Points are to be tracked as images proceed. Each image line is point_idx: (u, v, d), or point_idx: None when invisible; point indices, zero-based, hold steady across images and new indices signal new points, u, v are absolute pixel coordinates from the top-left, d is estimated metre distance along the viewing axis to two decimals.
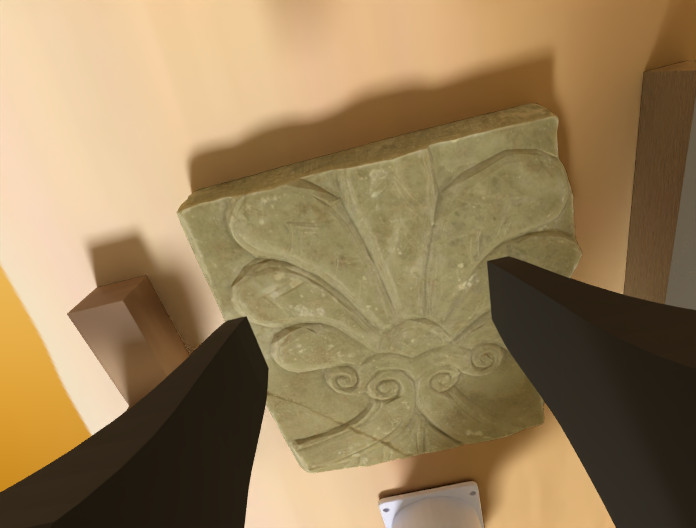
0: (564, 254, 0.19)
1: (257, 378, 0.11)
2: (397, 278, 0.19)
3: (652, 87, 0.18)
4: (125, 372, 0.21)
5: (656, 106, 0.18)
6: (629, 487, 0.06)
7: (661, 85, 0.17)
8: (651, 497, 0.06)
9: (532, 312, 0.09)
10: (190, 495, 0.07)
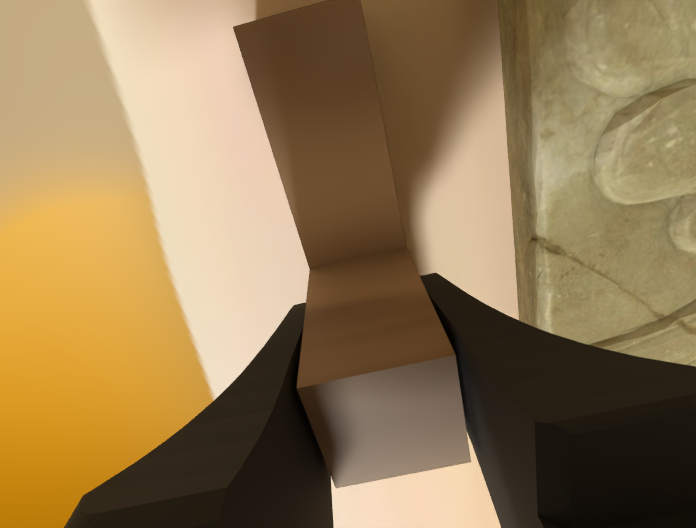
0: None
1: None
2: None
3: None
4: (320, 190, 0.11)
5: None
6: (507, 510, 0.06)
7: None
8: (517, 521, 0.06)
9: None
10: (299, 473, 0.07)
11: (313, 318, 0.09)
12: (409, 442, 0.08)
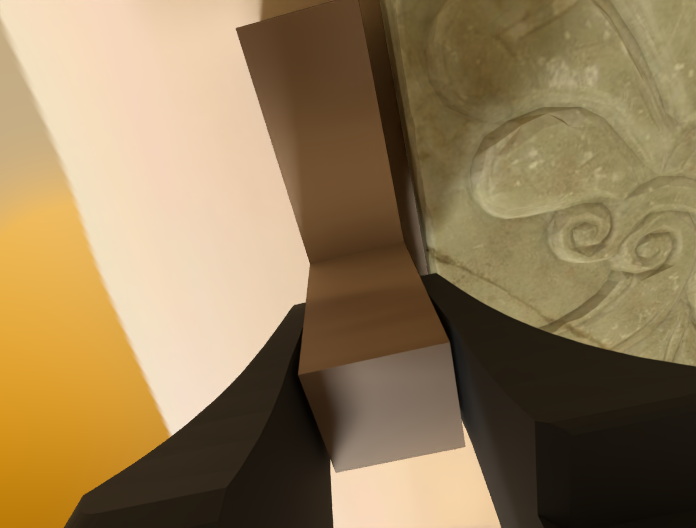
0: None
1: None
2: None
3: None
4: (320, 186, 0.11)
5: None
6: (507, 510, 0.06)
7: None
8: (517, 521, 0.06)
9: None
10: (299, 473, 0.07)
11: (313, 310, 0.09)
12: (406, 428, 0.08)
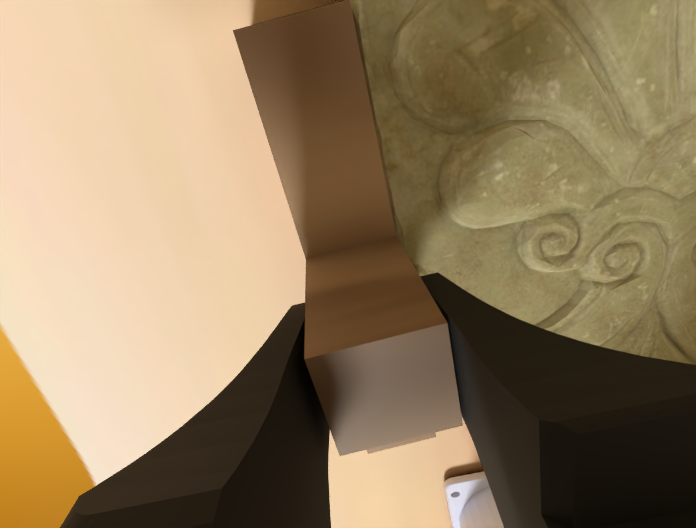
0: None
1: None
2: None
3: None
4: (315, 183, 0.11)
5: None
6: (510, 509, 0.06)
7: None
8: (521, 521, 0.06)
9: None
10: (296, 474, 0.07)
11: (314, 300, 0.10)
12: (407, 408, 0.09)
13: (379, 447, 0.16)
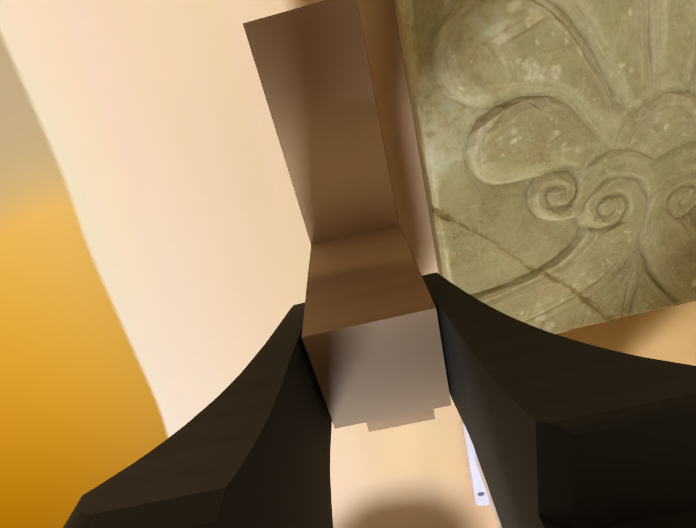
0: None
1: None
2: (675, 13, 0.14)
3: None
4: (320, 171, 0.12)
5: None
6: (508, 510, 0.06)
7: None
8: (518, 521, 0.06)
9: (443, 332, 0.09)
10: (298, 474, 0.07)
11: (315, 284, 0.10)
12: (398, 387, 0.09)
13: (380, 425, 0.17)
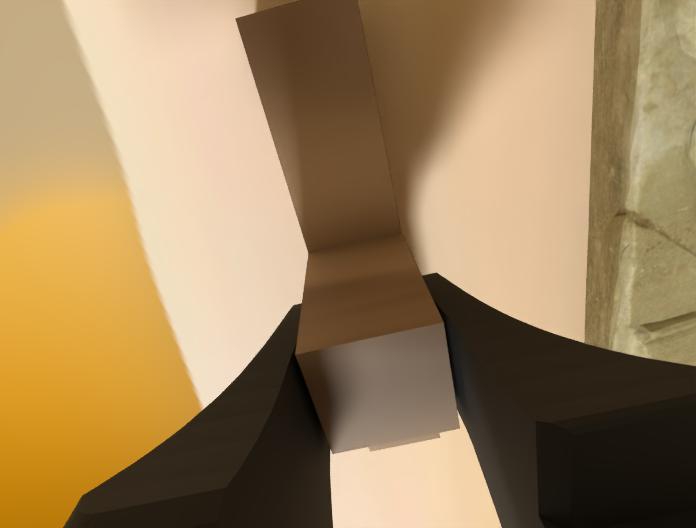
0: None
1: None
2: None
3: None
4: (318, 175, 0.11)
5: None
6: (508, 509, 0.06)
7: None
8: (519, 521, 0.06)
9: None
10: (298, 473, 0.07)
11: (311, 295, 0.10)
12: (402, 408, 0.08)
13: (382, 445, 0.16)
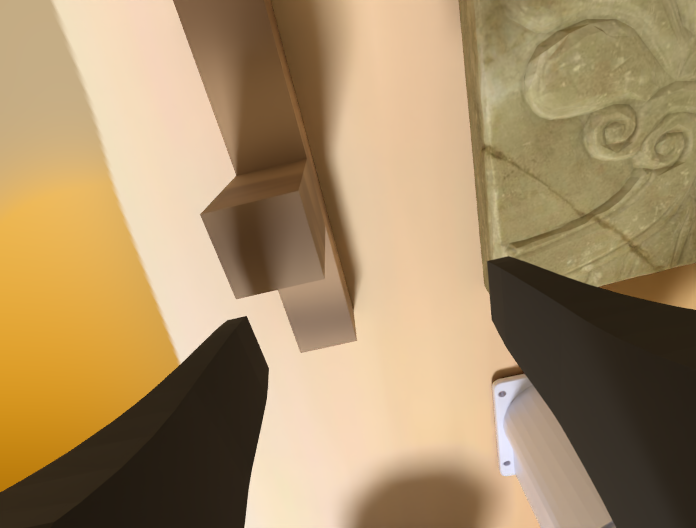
0: None
1: (257, 378, 0.11)
2: None
3: None
4: (239, 111, 0.15)
5: None
6: (629, 487, 0.06)
7: None
8: (651, 497, 0.06)
9: (532, 312, 0.09)
10: (190, 495, 0.07)
11: (225, 192, 0.13)
12: (280, 261, 0.12)
13: (309, 347, 0.20)
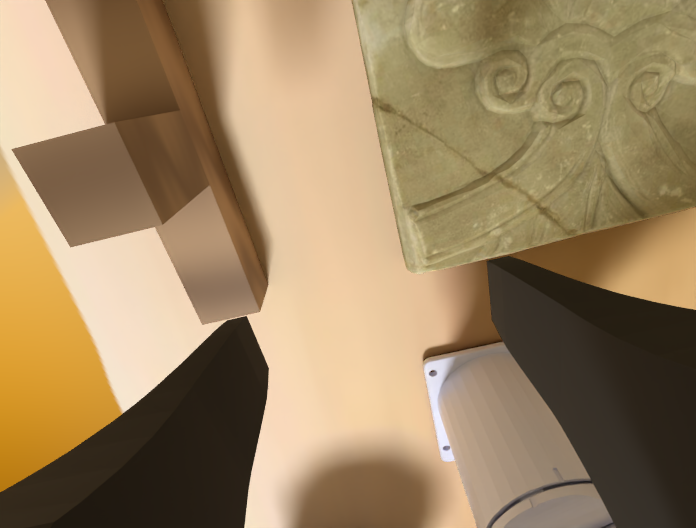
0: None
1: (257, 378, 0.11)
2: None
3: None
4: (101, 58, 0.14)
5: None
6: (629, 487, 0.06)
7: None
8: (652, 496, 0.06)
9: (532, 312, 0.09)
10: (190, 495, 0.07)
11: None
12: (110, 204, 0.11)
13: (211, 318, 0.19)
